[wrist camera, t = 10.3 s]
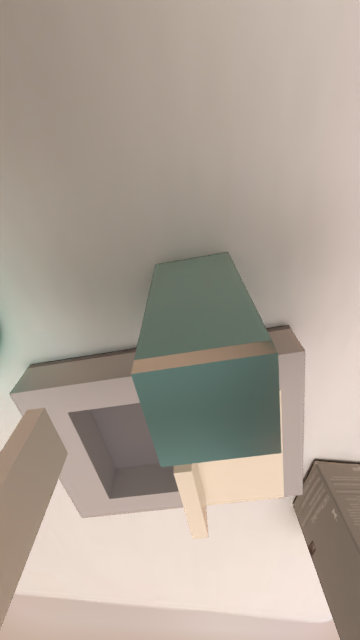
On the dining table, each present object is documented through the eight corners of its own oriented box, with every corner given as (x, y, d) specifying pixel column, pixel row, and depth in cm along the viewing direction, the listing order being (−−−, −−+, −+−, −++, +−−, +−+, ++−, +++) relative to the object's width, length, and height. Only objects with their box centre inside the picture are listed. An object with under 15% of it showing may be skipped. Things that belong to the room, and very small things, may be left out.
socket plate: (30, 364, 25) (9, 393, 22) (288, 325, 23) (305, 351, 20) (91, 483, 32) (82, 518, 29) (290, 460, 31) (302, 494, 28)
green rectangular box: (155, 264, 21) (130, 374, 10) (227, 252, 21) (278, 352, 10) (169, 326, 23) (160, 467, 13) (234, 316, 23) (281, 453, 12)
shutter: (164, 396, 22) (160, 442, 18) (276, 380, 21) (296, 425, 18) (190, 495, 27) (192, 545, 24) (280, 485, 27) (295, 536, 23)
